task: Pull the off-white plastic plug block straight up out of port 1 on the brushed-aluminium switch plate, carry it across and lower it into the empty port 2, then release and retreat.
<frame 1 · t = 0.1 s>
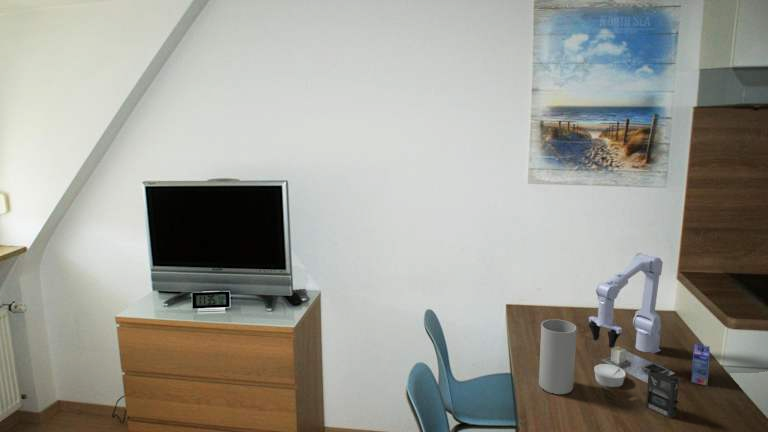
hand: (603, 343, 211), 10 cm above the table, fingers open, 7 cm apart
ink cartridge box: (699, 379, 202), on the table
switch plate: (636, 368, 210), on the table
plug: (617, 362, 213), point 1 cm above the table, touching switch plate
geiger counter: (661, 411, 181), on the table
cylinder vase: (555, 387, 198), on the table
ramekin: (608, 383, 200), on the table
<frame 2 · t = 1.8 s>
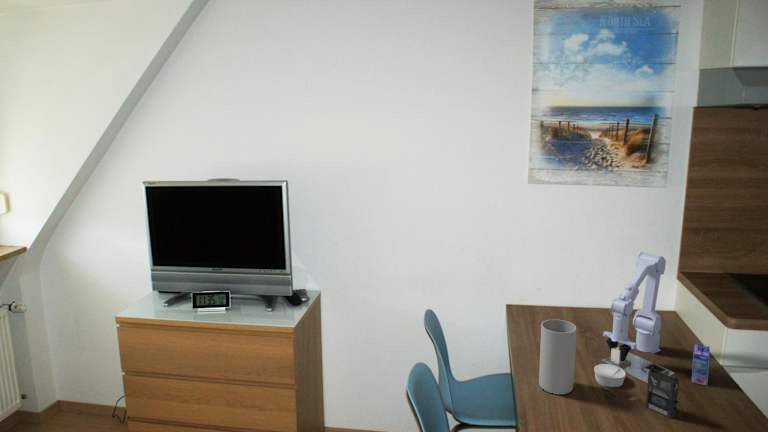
hand: (618, 358, 213), 3 cm above the table, fingers closed on plug, 4 cm apart
plug: (617, 362, 213), point 1 cm above the table, touching gripper, switch plate
everything else where it was.
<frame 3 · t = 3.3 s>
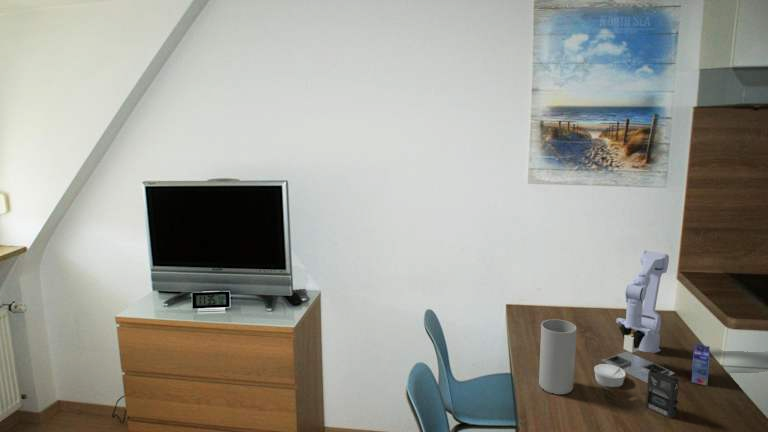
hand: (631, 345, 209), 10 cm above the table, fingers closed on plug, 4 cm apart
plug: (631, 349, 210), point 8 cm above the table, touching gripper
everything else where it was.
when the fingers open (3 cm above the table, at t = 5.2 s): plug stays where it is, resting on switch plate.
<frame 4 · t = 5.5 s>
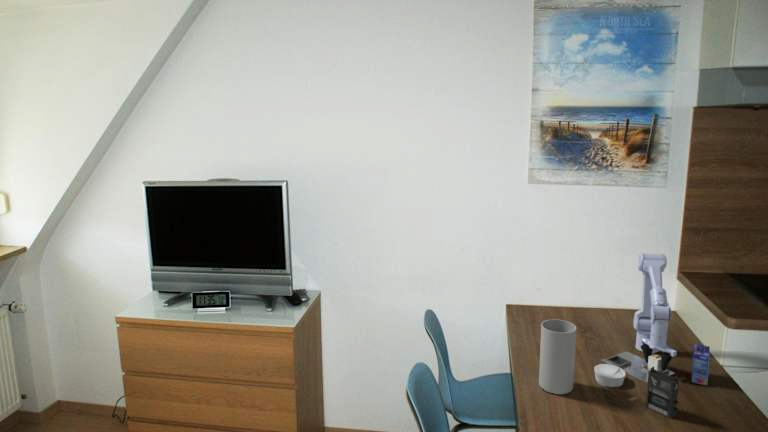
hand: (655, 365, 206), 3 cm above the table, fingers open, 6 cm apart
plug: (655, 370, 206), point 1 cm above the table, touching switch plate
everything else where it was.
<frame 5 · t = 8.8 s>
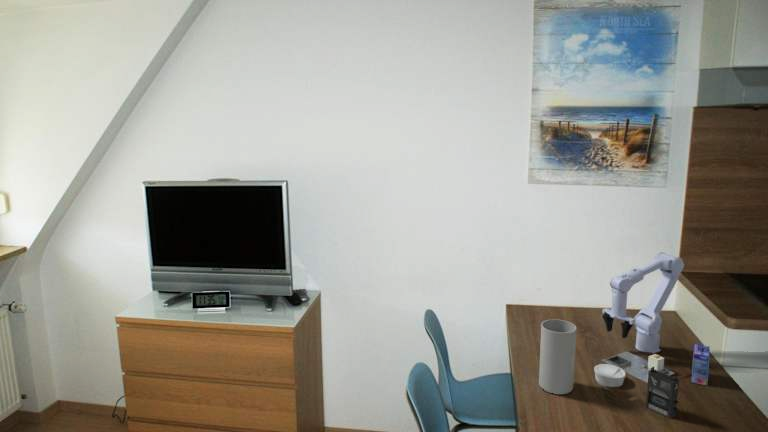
hand: (616, 334, 220), 10 cm above the table, fingers open, 7 cm apart
nothing on the table moved.
at the end: plug 0.1 cm from the target spot on the switch plate, point 1.0 cm above the switch plate's base; plug tilted 0°; the gripper is holding nothing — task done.
